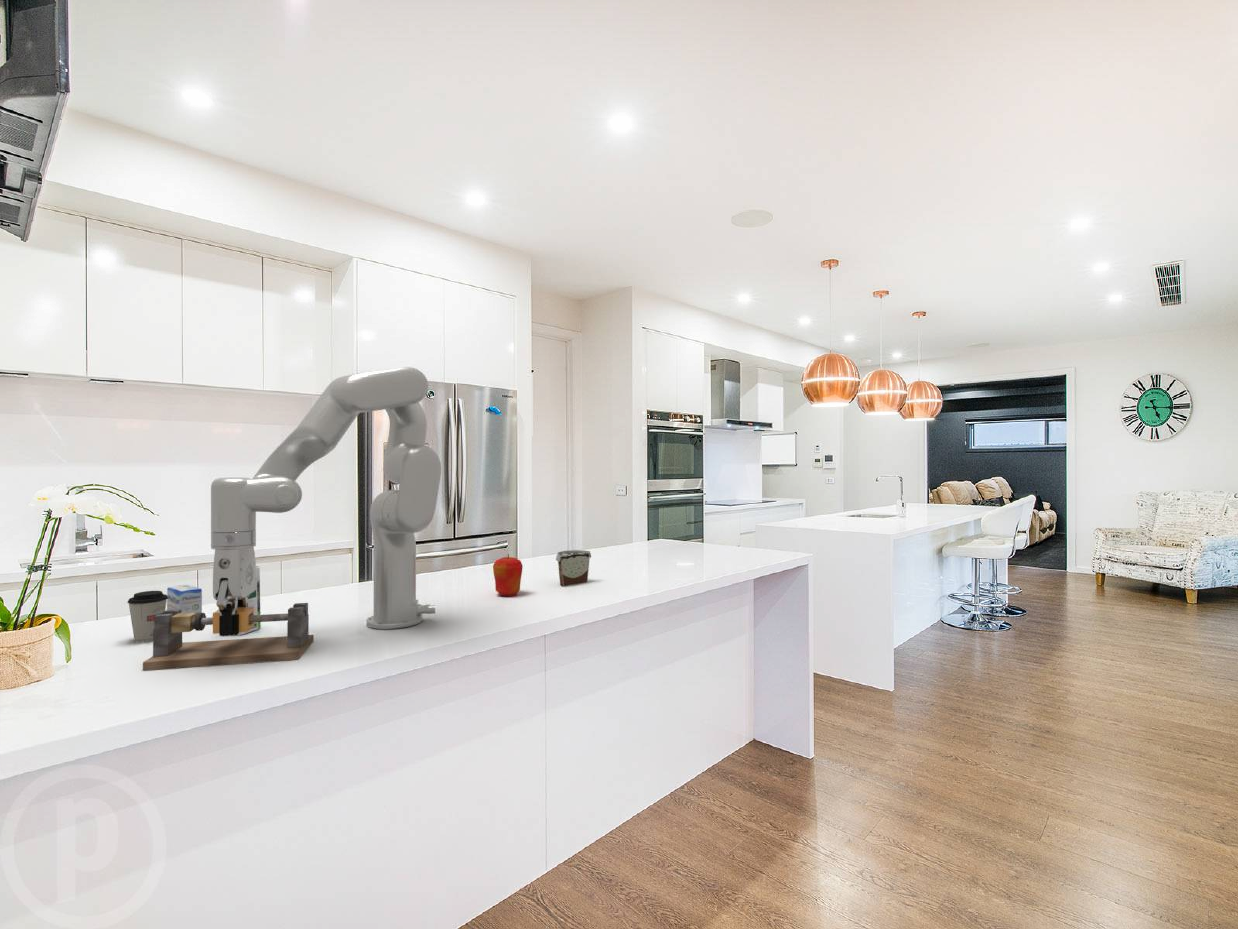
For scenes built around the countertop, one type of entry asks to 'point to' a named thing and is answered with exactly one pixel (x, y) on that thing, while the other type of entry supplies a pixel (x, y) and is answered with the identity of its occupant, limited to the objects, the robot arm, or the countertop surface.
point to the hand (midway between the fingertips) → (233, 631)
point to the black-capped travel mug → (145, 613)
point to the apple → (507, 575)
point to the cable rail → (225, 641)
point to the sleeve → (243, 619)
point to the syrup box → (254, 602)
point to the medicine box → (184, 598)
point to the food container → (573, 567)
